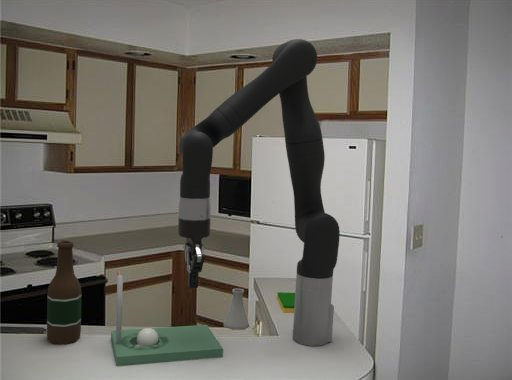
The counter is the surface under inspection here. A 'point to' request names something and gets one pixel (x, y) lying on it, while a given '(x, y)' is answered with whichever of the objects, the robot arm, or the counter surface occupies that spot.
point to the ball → (147, 337)
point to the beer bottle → (64, 299)
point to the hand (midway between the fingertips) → (193, 287)
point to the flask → (236, 312)
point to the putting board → (162, 341)
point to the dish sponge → (286, 301)
